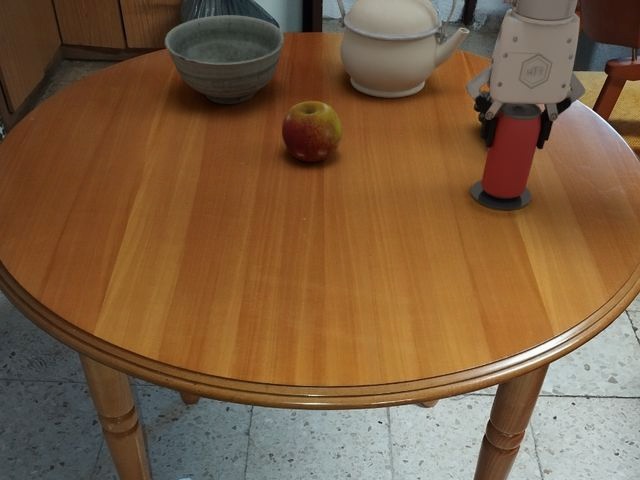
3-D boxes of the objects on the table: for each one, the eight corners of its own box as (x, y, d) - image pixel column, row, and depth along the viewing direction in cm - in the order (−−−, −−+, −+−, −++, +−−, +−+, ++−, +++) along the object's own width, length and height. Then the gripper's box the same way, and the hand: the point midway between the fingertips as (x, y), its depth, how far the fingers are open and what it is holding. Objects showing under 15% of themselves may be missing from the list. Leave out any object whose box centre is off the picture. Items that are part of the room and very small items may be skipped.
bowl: (280, 69, 133) (278, 13, 126) (291, 116, 119) (289, 55, 112) (173, 74, 131) (165, 16, 124) (172, 122, 117) (163, 60, 110)
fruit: (271, 160, 108) (269, 110, 103) (299, 137, 114) (298, 88, 108) (324, 175, 106) (325, 124, 100) (350, 151, 111) (352, 101, 105)
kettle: (316, 91, 126) (317, -70, 108) (350, 57, 138) (357, -94, 119) (446, 115, 120) (470, -52, 102) (470, 77, 132) (497, -79, 113)
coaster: (525, 180, 105) (525, 178, 105) (535, 211, 99) (536, 208, 99) (467, 179, 105) (467, 176, 105) (474, 210, 99) (475, 207, 99)
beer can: (514, 176, 104) (533, 96, 95) (531, 198, 100) (553, 116, 91) (473, 180, 103) (489, 100, 94) (490, 203, 99) (507, 120, 90)
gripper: (478, 11, 81) (454, 155, 94) (624, 14, 80) (579, 158, 94) (470, -9, 86) (449, 131, 99) (607, -7, 85) (567, 133, 99)
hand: (512, 143), depth 96 cm, fingers closed on beer can, 6 cm apart
